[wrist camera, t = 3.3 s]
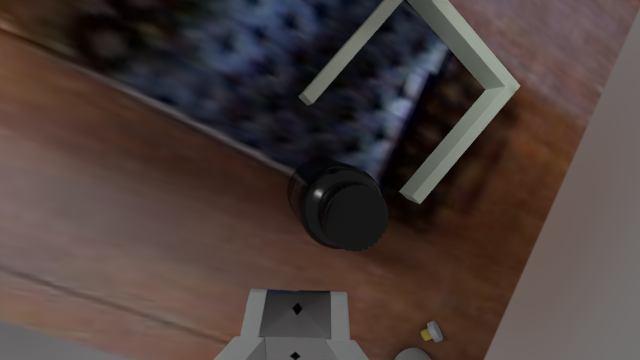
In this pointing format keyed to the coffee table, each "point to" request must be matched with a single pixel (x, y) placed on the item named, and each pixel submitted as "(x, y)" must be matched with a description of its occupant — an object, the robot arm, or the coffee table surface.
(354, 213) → the supplement bottle
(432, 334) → the reed diffuser
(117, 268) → the coffee table surface
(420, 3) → the pale u-shaped frame
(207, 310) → the coffee table surface
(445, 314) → the coffee table surface
